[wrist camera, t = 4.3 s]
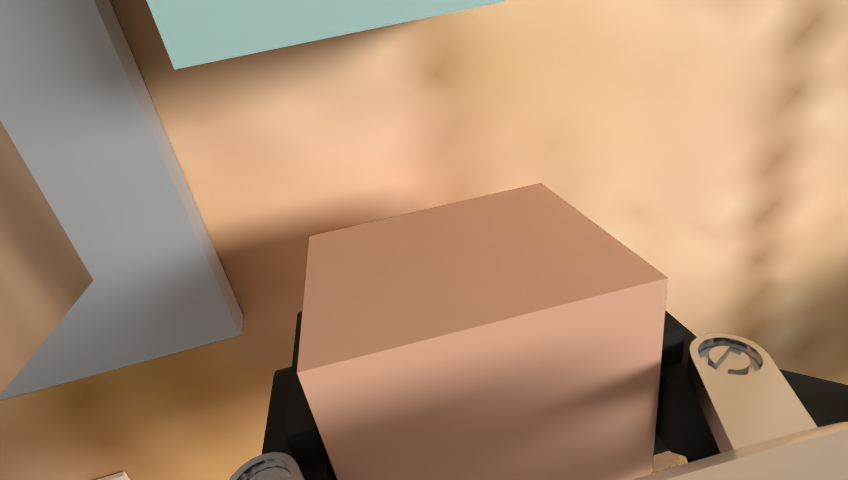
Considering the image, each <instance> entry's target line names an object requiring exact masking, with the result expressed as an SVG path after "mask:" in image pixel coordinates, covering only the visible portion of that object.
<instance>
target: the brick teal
mask: <svg viewBox="0 0 848 480" xmlns="http://www.w3.org/2000/svg"><path fill="white" fill-rule="evenodd" d="M146 1H147V3H148V5H149V8H150V10H151V13H152V15H153V18H154V20H155V23H156V25H157V28H158V30H159V33H160V35H161V38H162V40H163V43H164V45H165V48H166V50H167V53H168V55H169V57H170V60H171V62H172V65H173V67H174V70H175V69H180V68H185V67H190V66H195V65H200V64H205V63H209V62H214V61H219V60H224V59H229V58H234V57H238V56H243V55H248V54H253V53H258V52H263V51H268V50H272V49H277V48H282V47H287V46H292V45H297V44H302V43H306V42H311V41H316V40H321V39H326V38H331V37H335V36H340V35H345V34H350V33H355V32H360V31H365V30H369V29H374V28H379V27H384V26H389V25H394V24H399V23H403V22H408V21H413V20H418V19H423V18H428V17H432V16H437V15H442V14H447V13H452V12H457V11H462V10H466V9H471V8H476V7H481V6H486V5H491V4H496V3H500V2H505V0H146Z"/></svg>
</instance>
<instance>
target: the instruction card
mask: <svg viewBox="0 0 848 480" xmlns="http://www.w3.org/2000/svg"><path fill="white" fill-rule="evenodd" d="M97 480H130V479H129V477H128V476H127V474H126V473H125V472H124V471H123V472H120V473H117V474H113V475H110V476H107V477H103V478H100V479H97Z"/></svg>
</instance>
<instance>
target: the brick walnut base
mask: <svg viewBox="0 0 848 480" xmlns="http://www.w3.org/2000/svg"><path fill="white" fill-rule="evenodd" d="M92 282H93V279H92V277H91V275H90V274H89V272H88V270H87V268H86V267H85V265H84V263H83V262H82V260H81V258H80V256H79V255H78V253H77V251H76V250H75V248H74V246H73V244H72V243H71V241H70V239H69V238H68V236H67V234H66V232H65V231H64V229H63V227H62V225H61V224H60V222H59V220H58V219H57V217H56V215H55V213H54V212H53V210H52V208H51V207H50V205H49V203H48V201H47V200H46V198H45V196H44V195H43V193H42V191H41V189H40V188H39V186H38V184H37V182H36V181H35V179H34V177H33V176H32V174H31V172H30V170H29V169H28V167H27V165H26V164H25V162H24V160H23V158H22V157H21V155H20V153H19V152H18V150H17V148H16V146H15V145H14V143H13V141H12V140H11V138H10V136H9V134H8V133H7V131H6V129H5V127H4V126H3V124H2V122H1V121H0V395H1V394H2V392H3V391H4V390H5V389H6V387H7V386H8V385H9V384H10V382H11V381H12V380H13V379H14V378H15V376H16V375H17V374H18V373H19V371H20V370H21V369H22V368H23V366H24V365H25V364H26V363H27V362H28V360H29V359H30V358H31V357H32V355H33V354H34V353H35V352H36V351H37V349H38V348H39V347H40V346H41V344H42V343H43V342H44V341H45V339H46V338H47V337H48V336H49V335H50V333H51V332H52V331H53V330H54V328H55V327H56V326H57V325H58V323H59V322H60V321H61V320H62V319H63V317H64V316H65V315H66V314H67V312H68V311H69V310H70V309H71V307H72V306H73V305H74V304H75V303H76V301H77V300H78V299H79V298H80V296H81V295H82V294H83V293H84V291H85V290H86V289H87V288H88V287H89V285H90V284H91V283H92Z"/></svg>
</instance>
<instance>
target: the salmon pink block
mask: <svg viewBox="0 0 848 480" xmlns="http://www.w3.org/2000/svg"><path fill="white" fill-rule="evenodd" d="M667 283H668V277H666V276H665V275H663V274H662V273H661V272H659V271H658V270H657V269H655V268H654V267H653V266H651V265H650V264H649V263H647V262H646V261H645V260H643V259H642V258H641V257H639V256H638V255H637V254H635V253H634V252H633V251H631V250H630V249H629V248H627V247H626V246H625V245H623V244H622V243H621V242H619V241H618V240H617V239H615V238H614V237H613V236H611V235H610V234H609V233H607V232H606V231H605V230H603V229H602V228H600V227H599V226H598V225H596V224H595V223H594V222H592V221H591V220H590V219H588V218H587V217H586V216H584V215H583V214H582V213H580V212H579V211H578V210H576V209H575V208H574V207H572V206H571V205H570V204H568V203H567V202H566V201H564V200H563V199H562V198H560V197H559V196H558V195H556V194H555V193H554V192H552V191H551V190H550V189H548V188H547V187H546V186H544V185H543V184H542V183H539V184H534V185H530V186H526V187H521V188H517V189H513V190H508V191H504V192H500V193H495V194H491V195H486V196H482V197H478V198H473V199H469V200H465V201H460V202H456V203H452V204H447V205H443V206H438V207H434V208H430V209H425V210H421V211H417V212H412V213H408V214H404V215H399V216H395V217H390V218H386V219H382V220H377V221H373V222H369V223H364V224H360V225H355V226H351V227H347V228H342V229H338V230H334V231H329V232H325V233H321V234H316V235H312V236H309V245H308V256H307V267H306V278H305V289H304V300H303V311H302V322H301V333H300V344H299V355H298V366H297V375H298V377H299V380H300V383H301V385H302V388H303V390H304V393H305V396H306V398H307V401H308V404H309V406H310V409H311V411H312V414H313V417H314V419H315V422H316V425H317V427H318V430H319V433H320V435H321V438H322V440H323V443H324V446H325V448H326V451H327V454H328V456H329V459H330V461H331V464H332V467H333V469H334V472H335V475H336V477H337V480H632V479H635V478H638V477H642V476H645V475H649V474H652V466H653V454H654V442H655V429H656V417H657V405H658V393H659V381H660V368H661V356H662V344H663V332H664V319H665V307H666V295H667Z"/></svg>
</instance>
